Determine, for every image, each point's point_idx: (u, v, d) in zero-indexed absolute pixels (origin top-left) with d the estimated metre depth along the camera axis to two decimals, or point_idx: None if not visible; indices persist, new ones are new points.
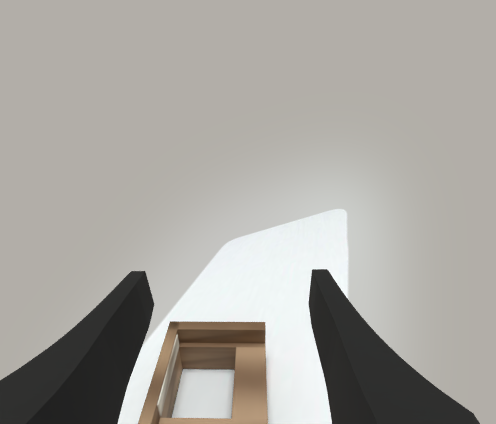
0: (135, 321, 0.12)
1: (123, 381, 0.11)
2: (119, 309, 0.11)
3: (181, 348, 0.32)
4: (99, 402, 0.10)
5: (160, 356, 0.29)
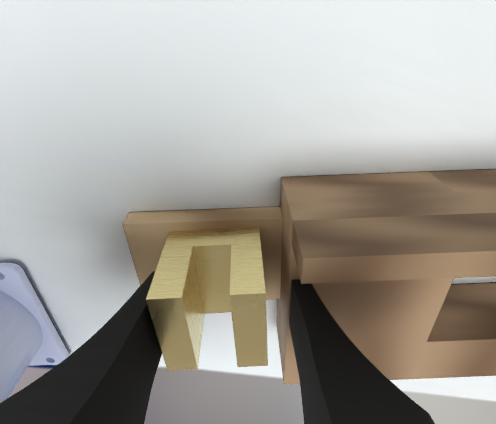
0: None
1: (148, 381, 0.11)
2: (145, 309, 0.11)
3: None
4: (129, 402, 0.09)
5: None
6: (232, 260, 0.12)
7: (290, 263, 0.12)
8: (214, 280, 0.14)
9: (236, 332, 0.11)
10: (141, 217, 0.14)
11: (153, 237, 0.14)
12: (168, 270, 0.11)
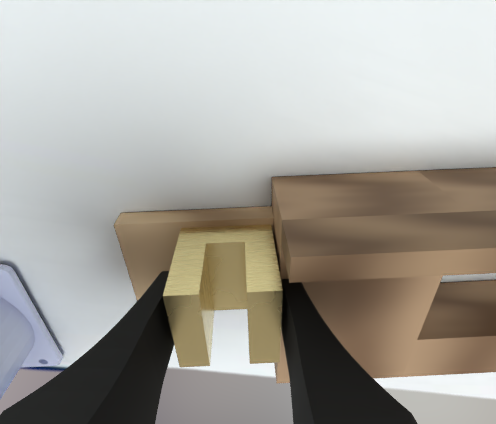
0: (168, 321, 0.12)
1: (159, 382, 0.11)
2: (156, 309, 0.11)
3: None
4: (141, 402, 0.09)
5: None
6: (246, 258, 0.12)
7: (280, 262, 0.12)
8: (225, 277, 0.14)
9: (251, 329, 0.11)
10: (132, 217, 0.14)
11: (144, 237, 0.14)
12: (183, 267, 0.11)
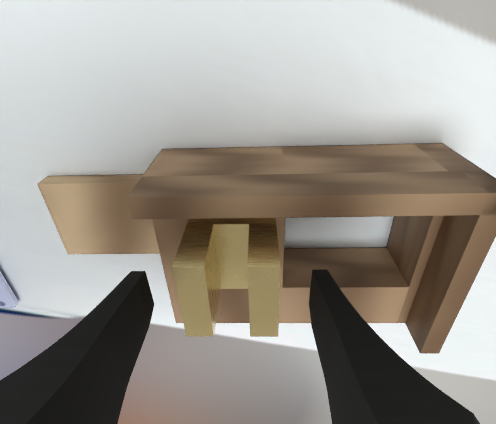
0: (135, 321, 0.12)
1: (123, 381, 0.11)
2: (119, 309, 0.11)
3: None
4: (99, 402, 0.10)
5: (403, 196, 0.12)
6: (249, 238, 0.13)
7: None
8: (231, 257, 0.15)
9: (251, 303, 0.12)
10: (54, 179, 0.17)
11: (63, 195, 0.17)
12: (191, 243, 0.13)
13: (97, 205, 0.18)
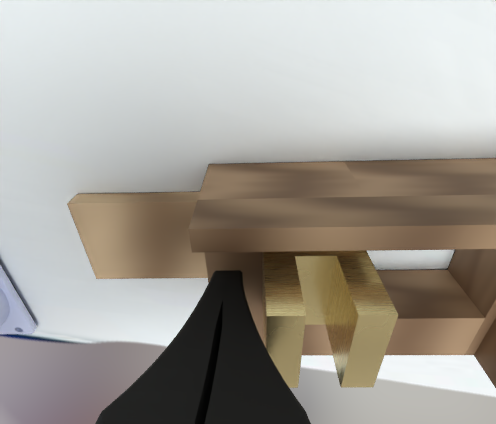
0: None
1: None
2: (221, 308, 0.11)
3: None
4: None
5: None
6: (345, 274, 0.11)
7: None
8: (309, 291, 0.13)
9: (352, 353, 0.10)
10: (85, 198, 0.16)
11: (95, 216, 0.15)
12: (279, 282, 0.11)
13: (133, 227, 0.16)
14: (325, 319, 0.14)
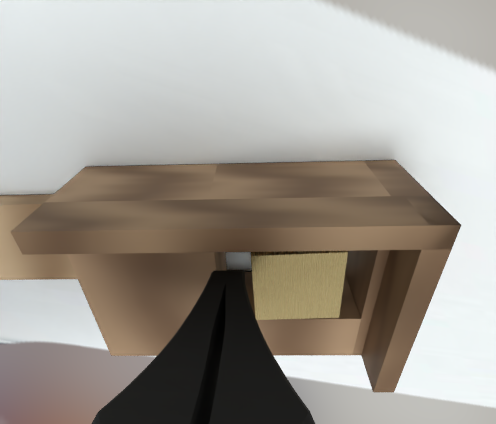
0: (224, 321, 0.12)
1: None
2: (218, 308, 0.11)
3: None
4: (212, 402, 0.09)
5: (331, 229, 0.10)
6: None
7: None
8: None
9: None
10: None
11: None
12: None
13: None
14: None
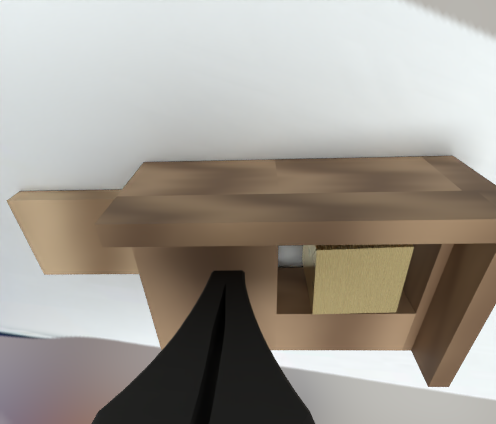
0: (224, 321, 0.12)
1: None
2: (218, 308, 0.11)
3: None
4: (212, 402, 0.09)
5: (412, 223, 0.10)
6: None
7: None
8: None
9: None
10: (26, 195, 0.16)
11: (35, 213, 0.16)
12: None
13: (73, 223, 0.16)
14: None
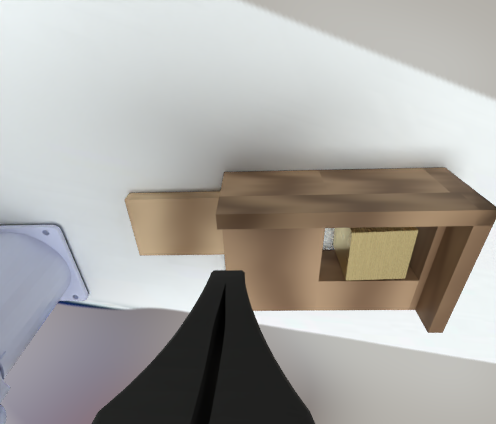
0: (224, 321, 0.12)
1: None
2: (218, 308, 0.11)
3: None
4: (212, 402, 0.09)
5: (418, 213, 0.16)
6: None
7: None
8: None
9: None
10: (136, 196, 0.22)
11: (143, 208, 0.22)
12: None
13: (170, 216, 0.22)
14: None
